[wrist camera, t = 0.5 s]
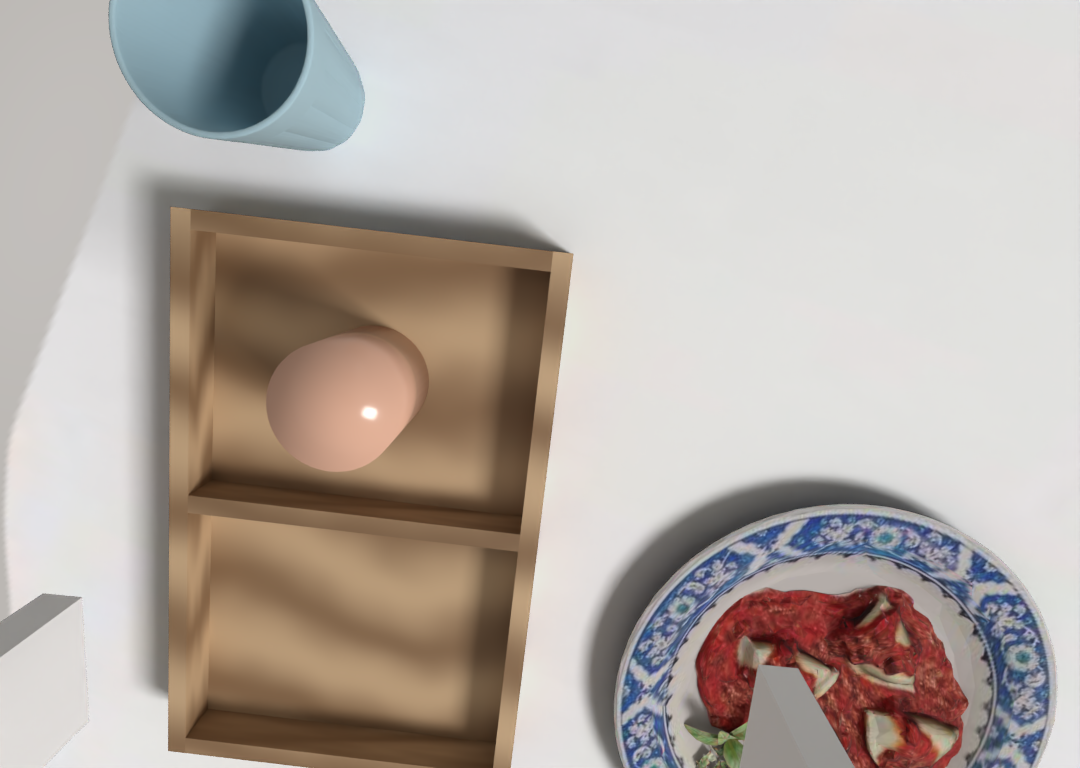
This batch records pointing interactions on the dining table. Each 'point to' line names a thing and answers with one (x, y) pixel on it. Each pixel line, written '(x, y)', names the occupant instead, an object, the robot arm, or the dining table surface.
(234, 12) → the cup
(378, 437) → the tan rounded piece
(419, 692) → the divided wooden tray
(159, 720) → the dining table surface
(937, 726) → the ceramic plate
